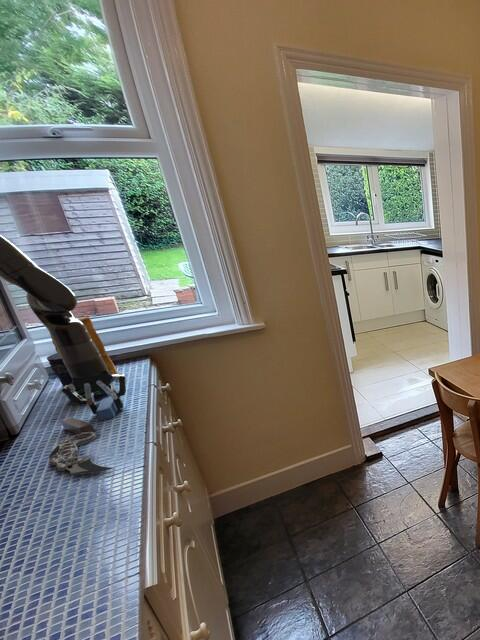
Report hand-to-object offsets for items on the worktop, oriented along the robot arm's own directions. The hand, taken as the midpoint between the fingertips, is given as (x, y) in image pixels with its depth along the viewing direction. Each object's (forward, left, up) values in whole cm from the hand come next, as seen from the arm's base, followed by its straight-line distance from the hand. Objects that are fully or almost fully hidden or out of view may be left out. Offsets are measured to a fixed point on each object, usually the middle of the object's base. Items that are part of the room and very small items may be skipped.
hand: (109, 411), depth 121 cm
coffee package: (+12, +36, 0) cm, 38 cm away
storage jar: (+4, +20, 0) cm, 20 cm away
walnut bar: (-9, -5, 0) cm, 10 cm away
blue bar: (0, 0, 0) cm, 0 cm away
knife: (-16, -23, 0) cm, 28 cm away
